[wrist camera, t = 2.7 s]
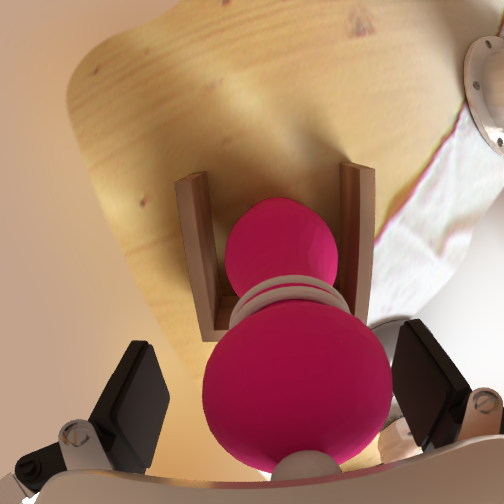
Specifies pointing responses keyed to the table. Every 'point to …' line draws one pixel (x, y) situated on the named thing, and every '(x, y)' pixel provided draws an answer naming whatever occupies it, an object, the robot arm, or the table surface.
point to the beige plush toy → (397, 442)
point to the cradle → (205, 259)
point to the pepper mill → (292, 352)
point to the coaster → (389, 336)
